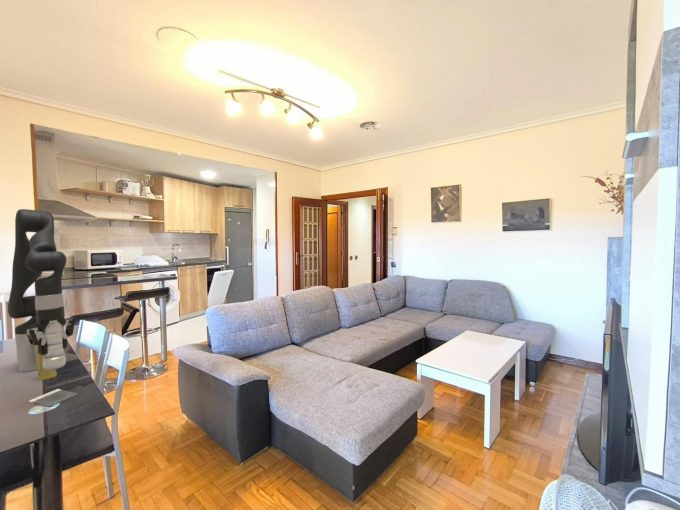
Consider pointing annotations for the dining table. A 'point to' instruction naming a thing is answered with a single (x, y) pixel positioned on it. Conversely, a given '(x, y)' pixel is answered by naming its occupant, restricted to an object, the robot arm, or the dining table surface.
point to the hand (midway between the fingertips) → (53, 351)
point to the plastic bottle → (54, 346)
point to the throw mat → (53, 397)
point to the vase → (42, 372)
